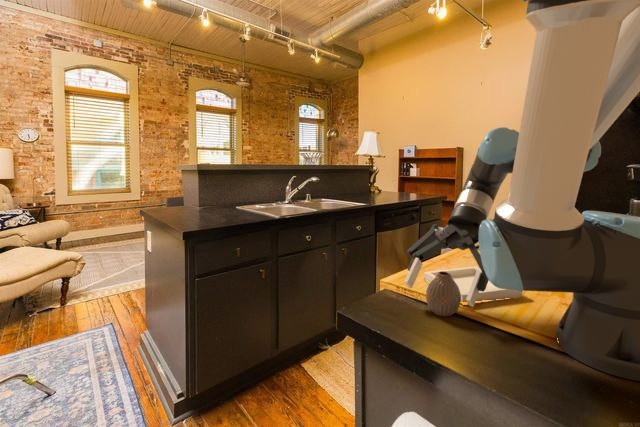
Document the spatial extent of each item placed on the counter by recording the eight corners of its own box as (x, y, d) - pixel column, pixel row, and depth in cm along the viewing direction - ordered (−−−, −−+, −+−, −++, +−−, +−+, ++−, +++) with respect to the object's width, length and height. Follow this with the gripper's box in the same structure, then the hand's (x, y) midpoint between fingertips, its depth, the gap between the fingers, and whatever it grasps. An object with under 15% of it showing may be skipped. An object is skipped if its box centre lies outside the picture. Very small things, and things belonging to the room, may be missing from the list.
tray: (521, 297, 75) (522, 287, 75) (462, 305, 72) (462, 295, 72) (474, 274, 91) (475, 266, 90) (423, 280, 87) (424, 271, 87)
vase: (420, 313, 69) (421, 273, 68) (433, 302, 74) (434, 265, 73) (452, 323, 64) (454, 281, 63) (464, 311, 69) (466, 272, 68)
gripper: (534, 230, 68) (505, 321, 61) (426, 217, 86) (393, 286, 79) (529, 208, 64) (497, 303, 56) (416, 200, 82) (380, 270, 74)
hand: (436, 293), depth 67 cm, fingers open, 13 cm apart
